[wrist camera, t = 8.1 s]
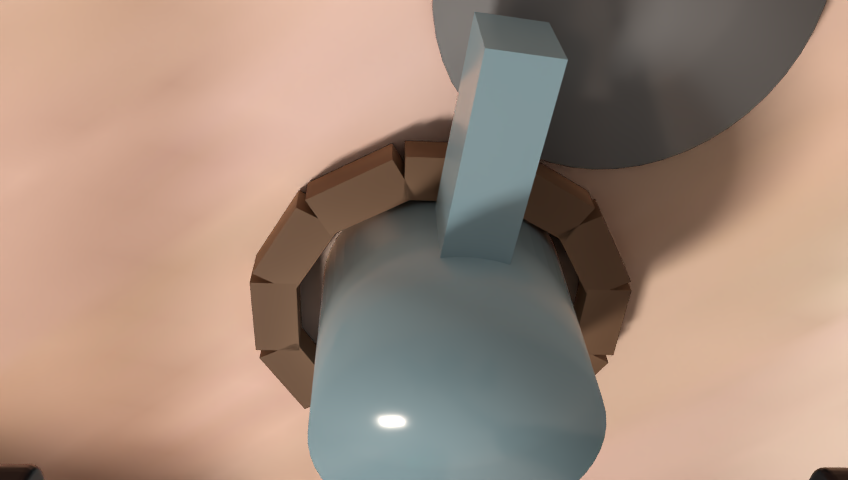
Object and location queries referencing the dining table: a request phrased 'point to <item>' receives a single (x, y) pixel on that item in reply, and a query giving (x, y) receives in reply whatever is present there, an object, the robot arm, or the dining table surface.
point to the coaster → (647, 68)
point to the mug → (461, 303)
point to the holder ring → (389, 187)
